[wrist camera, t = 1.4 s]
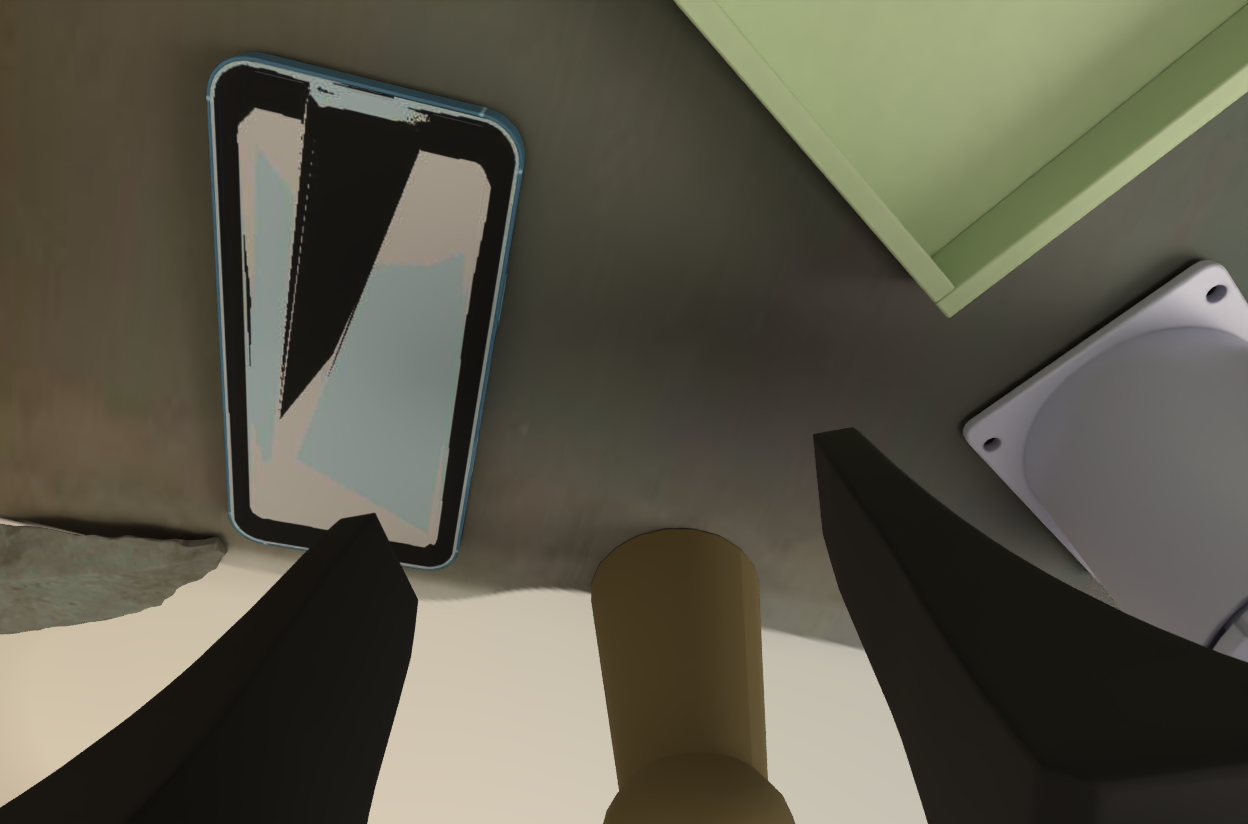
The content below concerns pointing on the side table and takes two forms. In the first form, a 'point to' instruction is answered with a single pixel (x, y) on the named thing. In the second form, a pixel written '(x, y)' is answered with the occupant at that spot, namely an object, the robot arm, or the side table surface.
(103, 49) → the side table surface
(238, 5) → the side table surface
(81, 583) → the stone
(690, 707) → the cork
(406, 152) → the smartphone
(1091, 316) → the side table surface
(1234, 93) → the spice tray
